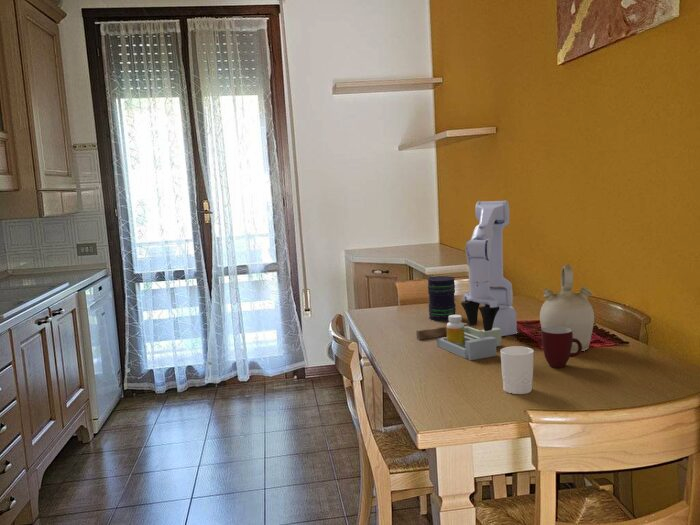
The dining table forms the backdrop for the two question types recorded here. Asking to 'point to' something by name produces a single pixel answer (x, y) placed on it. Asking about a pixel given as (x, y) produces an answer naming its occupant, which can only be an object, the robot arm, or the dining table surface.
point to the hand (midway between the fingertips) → (480, 327)
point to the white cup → (517, 369)
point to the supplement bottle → (456, 330)
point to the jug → (569, 310)
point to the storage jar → (441, 297)
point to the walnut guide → (433, 332)
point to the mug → (558, 345)
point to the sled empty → (483, 334)
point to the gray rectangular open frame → (471, 347)
